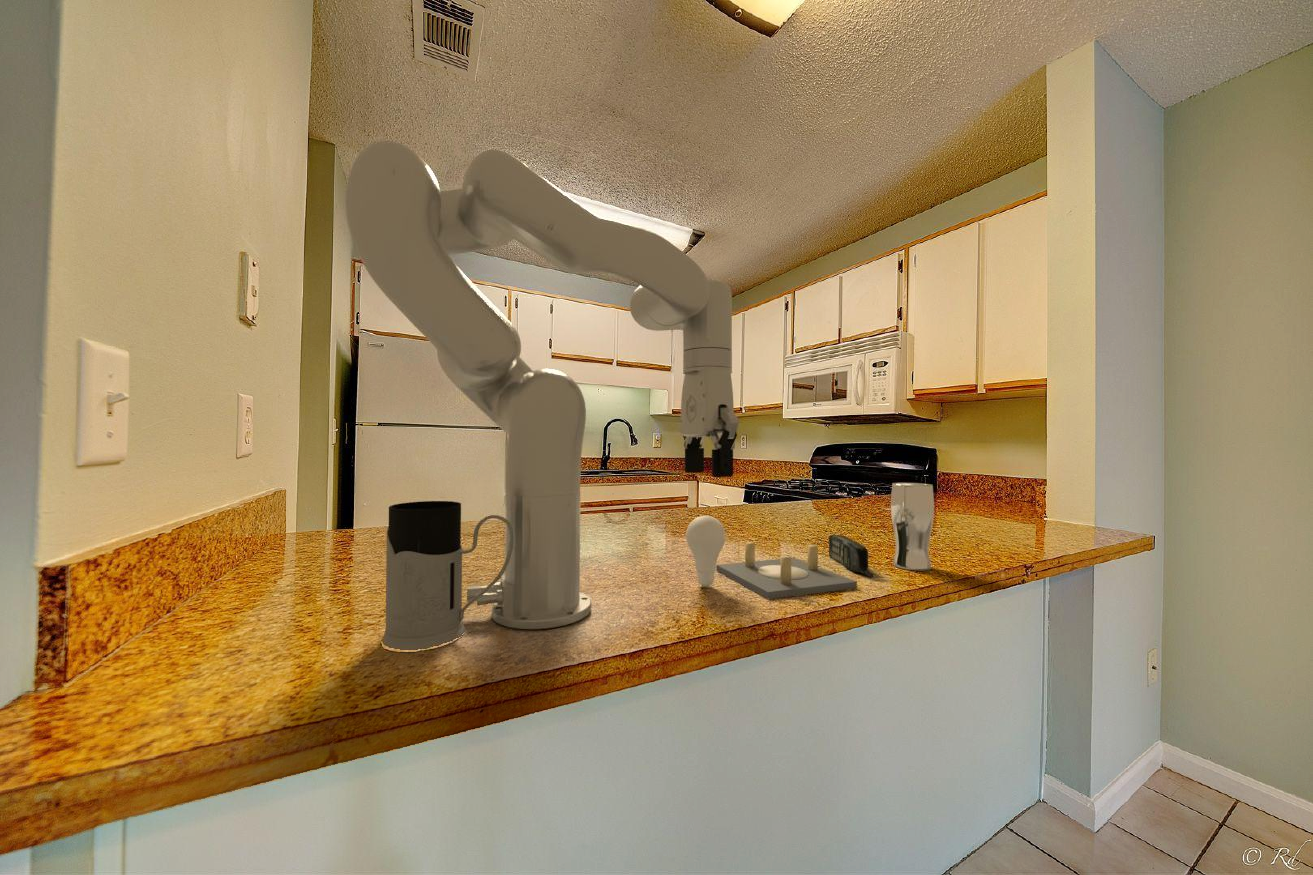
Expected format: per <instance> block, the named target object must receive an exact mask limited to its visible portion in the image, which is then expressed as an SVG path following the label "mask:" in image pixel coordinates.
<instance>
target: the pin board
mask: <svg viewBox="0 0 1313 875" xmlns="http://www.w3.org/2000/svg"><path fill="white" fill-rule="evenodd" d="M744 543H745V546H744V547H745V554H744V556H745V557H744V558H745V560H744V561H743V562H732V563H722V564H716V570H715V571H717V572H719V573H720V574H722V575H723V576H726V577H727V578H729V579H731V580H733V581H735V582H736V583H738V584H740V585H742V586H744V587H745V588H747V589H749V590H750V591H752V592H753V593H754V592H755V593H756V594H758V595H760V596H761V597H764V598H765V599H767V600H770V599H771V600H772V599H779V598H781V599H782V598H787V597H795V596H804V595H811V594H820V593H828V592H837V591H844V590H851V589H852V590H853V589H854V590H855V589H857V588H858V581H856V580H854V579H851V578H848V577H846V576H843V575H840V574H837V573H834V572H833V571H830V570H827V569H826V568H825V569H824V568H822V567H820V566H819V565H818V564H819V561H818V560H819V559H818V558H819V549H818V548H819V546H818V545H816V544H808V545H807V562H806V561H803V560H801V559H798V558H795V557H792V556H790V555H781V556H780V558H777V559H767V560H756V555H755V554H756V553H755V552H756V543H755V542H752V541H751V542H750V541H747V542H744Z"/></svg>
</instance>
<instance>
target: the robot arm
mask: <svg viewBox="0 0 1313 875" xmlns="http://www.w3.org/2000/svg"><path fill="white" fill-rule="evenodd" d="M345 188H346V189H345V198H344V199H345V203H344V204H345V216H346V219H347V220H346V222H347V225H348V229H349V233H350V237H351V239H352V242H353V244H354V247H355V250H356V252H357V254H358V256H359V259H360V261H361V262H362V265H363V266H364V268H365V270H366V271H367V273H368V275H369V276H370V277H371V279H372V280H373V283H375V284H376V285H377V287H378V288H379V289H380V290H381V292H382V293H383V294H384V295H385V296H386V298H388V300H390V302H391V303H392V304H393V305H394V306H395V307H396V308H397V309H398V311H399V312H401V313H402V314H403V316H405V318H407V320H408V321H409V322H410V323H411V324H412V325H413V326H414V327H415V328H416V329H417V330H418V331H419V332H420V333H421V334H422V335H423V336H424V337H425V338H426V339H427V340H428V341H429V342H430V343H431V344H432V346H433V347H434V348H435V349H436V351H437V352H436V353H437V360H438V362H439V365H440V368H441V369H442V371H443V372H444V374H445V376H446V377H447V378H448V379H449V380H450V381H451V383H453V384H454V385H455V387H456V388H458V389H459V391H461V393H463V395H465V396H466V397H467V398H468V400H469V401H471V402H472V403H473V404H474V405H475V406H476V407H477V408H478V410H480V411H482V412H483V413H484V415H485V416H487V417H488V418H489V419H490V420H491V421H492V422H493V423H494V424H495V425H496V426H498V428H499V429H500V430H502V431H503V432H504V433H506V434H507V436H508V437H507V445H506V446H507V448H506V460H505V486H504V487H505V519H506V520H508V521H509V522H510V524H511V526H512V528H513V535H514V539H513V550H512V554H511V557H510V561H509V563H508V565H507V567H506V569H505V571H504V574H503V575H502V576H501V578H500V579H501V580H500V581H499V580H498V581H497V582H496V583H495V584H494V585H493V586H492V587H491V588H490V589H489V590H487V591H486V592H485V593H484V594H483V595H482V596H481V597H479V598H478V599H477V600H476V601H475V602H476V606H482V605H489V604H493V605H492V607H491V618H492V619H493V621H494V622H496V623H497V624H499V625H501V626H504V627H506V628H511V629H517V630H518V629H520V630H544V629H546V630H547V629H552V628H553V629H554V628H558V627H563V626H568V625H571V624H573V623H576V622H578V621H581V620H583V619H584V618H586V617H587V616H588V615H589V614H590V613H591V611H592V599H591V598H590V597H589V595H586V594H585V593H583V592H580V588H581V587H580V586H581V584H580V583H581V581H580V580H581V579H580V578H581V577H580V575H581V573H580V572H581V562H580V561H581V469H582V468H581V467H582V450H583V442H584V438H585V437H584V435H585V429H586V422H587V421H586V420H587V409H586V401H585V398H584V395H583V392H582V391H581V388H580V387H579V385H578V384H577V383H576V381H575V380H574V379H573V378H572V377H570V375H567V374H566V373H564V372H562V371H560V370H557V369H550V368H539V369H536V370H533V369H532V368H531V367H530V366H529V365H528V364H527V363H526V362H525V360H523V359H522V357H521V351H522V343H521V342H522V341H521V338H520V334H519V333H518V331H517V329H516V327H515V325H514V324H513V323H512V322H511V321H510V320H509V319H508V318H507V317H506V316H505V315H504V314H503V313H502V312H501V311H500V310H499V308H497V307H496V306H495V305H494V304H493V303H492V302H491V301H490V300H489V299H488V298H487V296H485V295H484V293H482V291H480V289H478V288H477V286H476V285H475V284H474V283H473V282H472V281H471V280H470V279H469V278H468V277H467V276H466V275H465V273H464V272H463V271H462V270H461V268H459V266H458V265H457V264H456V263H455V262H454V260H453V259H452V258H451V257H450V255H458V254H468V253H474V252H475V253H476V252H481V251H487V250H492V249H496V248H500V247H503V246H506V245H508V244H509V243H510V242H512V241H513V240H514V241H515V242H518V244H521V245H522V246H524V247H525V248H527V249H529V250H530V251H532V252H533V253H535V254H537V255H538V256H540V257H541V258H543V259H544V260H546V261H548V263H550V264H552V265H553V266H555V267H556V268H558V269H560V270H561V271H563V272H566V273H569V274H577V275H586V274H588V275H589V274H590V275H591V274H598V275H599V274H600V275H602V274H603V275H609V276H610V275H611V276H615V277H618V278H622V279H625V280H628V281H630V282H632V283H634V284H636V285H639V286H638V287H637V288H636V289H635V290H634V292H633V293H632V295H631V298H630V300H629V310H630V311H629V312H630V314H631V316H632V318H633V320H634V321H635V323H637V324H638V325H639V326H640V327H642V328H643V329H647V330H650V331H654V332H655V331H656V332H657V331H658V332H659V331H661V332H662V331H682V332H683V333H682V337H683V339H682V342H683V343H682V344H683V345H682V347H683V348H682V350H683V353H682V354H683V355H682V359H683V360H682V361H683V362H682V363H683V364H682V365H683V367H682V370H683V371H682V372H683V373H682V374H683V375H684V377H683V383H682V389H681V390H682V391H681V400H680V402H681V403H680V427H679V429H680V434H681V435H682V437H683V439H684V441H683V447H684V472H685V473H688V474H690V473H691V474H693V473H695V474H696V473H698V474H699V473H704V472H705V448H704V447H702V446H703V444H704V441H705V438H706V437H710V439H711V442H712V445H713V447H714V449H711V477H713V478H730V477H733V476H734V449H735V447H736V443H735V442H736V439H737V437H738V434H737V432H738V428H739V423H740V419H739V417H738V416H737V415H736V414H735V413H734V412H735V411H734V408H735V407H734V392H733V391H734V389H733V381H732V373H733V348H732V347H733V346H732V345H733V344H732V342H733V334H732V332H733V331H732V330H733V322H732V320H733V318H732V316H733V312H732V311H733V306H732V305H733V301H732V300H733V298H732V296H733V295H732V294H733V293H732V290H731V287H730V286H729V285H728V284H727V283H726V282H723V281H721V280H716V279H708V278H707V275H706V273H705V272H704V271H703V269H702V268H701V267H700V265H699V264H698V263H697V262H696V261H695V260H694V259H693V258H691V257H690V256H689V255H687V254H686V253H685V252H684V251H683V250H681V249H680V248H679V247H677V246H676V245H674V244H673V243H672V242H671V241H669V240H667V239H666V238H664V237H663V236H661V235H659V234H657V233H655V232H652V231H650V230H648V229H645V228H642V227H639V226H635V225H631V224H628V223H625V222H621V221H618V220H615V219H610V218H605V217H601V216H599V215H597V214H595V213H593V212H592V211H590V210H589V209H588V208H586V207H585V206H583V205H582V204H580V203H579V202H578V201H576V200H575V199H573V197H570V196H569V195H568V194H567V193H565V192H564V191H562V190H561V189H560V188H558V187H557V186H555V185H554V184H553V183H551V182H550V181H549V180H547V179H546V178H544V177H543V176H542V175H541V174H539V173H537V172H536V171H535V170H533V169H532V168H530V167H529V166H528V165H526V164H525V163H524V162H522V161H521V160H519V159H517V158H516V157H515V156H514V155H511V154H509V153H507V152H505V151H503V150H499V149H487V150H484V151H481V152H480V153H478V154H477V155H476V156H475V157H474V158H473V159H472V160H471V162H470V164H469V165H468V167H467V168H466V171H465V174H464V177H463V181H462V185H461V188H455V189H449V190H441V189H440V187H439V183H438V180H437V178H436V175H435V174H434V172H433V171H432V169H431V168H430V166H429V165H428V164H427V162H425V160H424V159H423V158H422V157H421V156H420V155H419V154H418V153H417V152H416V151H415V150H413V149H412V148H410V147H408V146H406V145H404V144H403V143H400V142H398V141H397V142H396V141H393V140H392V141H391V140H379V141H375V142H372V143H370V144H368V145H367V146H365V147H364V149H362V150H361V152H359V154H358V155H357V157H356V158H355V160H354V161H353V163H352V166H351V168H350V171H349V175H348V177H347V182H346V187H345ZM504 523H505V522H504ZM504 527H505V532H504V535H505V536H504V537H505V538H504V539H505V541H504V542H505V543H504V547H505V548H504V562H505V561H506V558H507V555H508V551H509V544H510V532H509V528H508V526H507V524H506V523H505V525H504ZM487 586H488V585H481V584H480V585H469V586H467V588H466V602H467V603H468V602H469V601H470V600H471V599H473V598H474V597H475V596H476V595H477V594H479V593H480V592H481V591H483V590H484V589H485V588H486V587H487Z"/></svg>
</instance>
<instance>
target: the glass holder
mask: <svg viewBox="0 0 1313 875" xmlns="http://www.w3.org/2000/svg"><path fill="white" fill-rule="evenodd" d="M491 519H497V520H500V521H502V522H503V523H506V524H507V526H508V528H509V532H510V544H509V551H508V555H507V558H506V561H505V560H504V563H503V565H502V567H501V569H500V570H499V573H498V574H497V576H496V577H494V579H493V580H492V581H491V582H490V583H489V584H488V585H486V586H487V587H486V588H485V589H484V590H483V591H481V592H480V593H479V594H477V595H476V596H475V597H474V598H473V599H471V600H470V601H469V602H467V603H465V605H464V606H463V605H462V604H463V555H464V554H465V555H466V554H470V553H472V552H473V551H474V550H476V547H477V545H478V537H479V536H478V535H479V531H480V529H481V526H482V525H483V524H484V523H485V522H486V521H488V520H491ZM461 537H462V503H461V502H458V501H452V500H450V501H449V500H425V501H422V500H421V501H410V502H401V503H396V504H395V503H394V504H392V505H390V506H388V527H387V530H386V559H385V560H386V563H385V565H386V567H385V568H386V569H385V570H386V572H385V573H386V574H385V629H384V634H383V636H382V638H381V640H382V642H383V644H384V645H385V646H388V647H389V648H394V649H400V650H418V649H427V648H430V647H433V646H439V645H441V644H443V643H447V642H450V641H453V640H454V639H456V638H459V637H461V636H462V634H463V633H464V632H465V629H466V627H465V624H464V623H463V620H464V617H465V615H464V614H465V611H466V610H467V609H468V607H470V606H471V605H472V604H473V603H475V602H477V601H476V600H477V599H478V598H479V597H481V596H482V595H483V594H484V593H485V592H486V591H487V590H489V589H490V588H491V587H492V586H493V585H494V584H495V583H496V582H499V580H500V579H501V576H502V575H504V574H505V569H506V567H507V565H508V563H509V561H510V557H511V554H512V550H513V539H514V535H513V528H512V526H511V524H510V522H509V521H508V520H506V517H504V516H502V515H497V514H491V515H488V516H487V515H486V516H484V518H482V519H481V520H479V521H478V523H477V524H476V526H475V528H474V532H473V536H472V537H473V538H472V541H473V542H472V547H471V548H470V549H463V546H462V544H461V543H462V542H461V541H462V538H461ZM465 633H466V632H465Z"/></svg>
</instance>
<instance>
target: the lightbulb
mask: <svg viewBox="0 0 1313 875" xmlns="http://www.w3.org/2000/svg"><path fill="white" fill-rule="evenodd" d="M726 536H727V534H726V530H725V526H724V525H723V524H722V522H721V521H720V520H719V519H717V518H715V517H713V516H711V515H701V516H698V517H696V518H694V519H693V520H691V521H690V523H689V524H688V526H687V529H686V532H685V539H686V542H687V545H688V547H689V549H690V551H691V552H692V556H693V559H694V563H695V565H694V567H695V570H696V578H697V583H698V585H701V587H703V588H709V587H710V586H712V585H713V584H714V582H715V571H716V565H717V562H718V557H719V555H720V552H721V551H722V549H723V547H724V545H725V543H726V539H727V538H726Z"/></svg>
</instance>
